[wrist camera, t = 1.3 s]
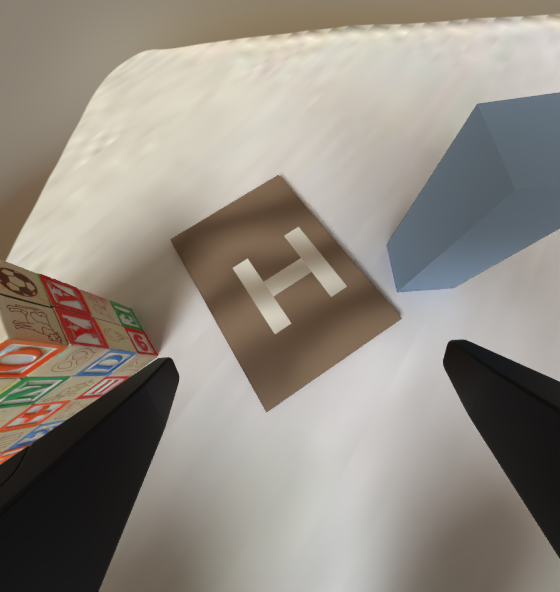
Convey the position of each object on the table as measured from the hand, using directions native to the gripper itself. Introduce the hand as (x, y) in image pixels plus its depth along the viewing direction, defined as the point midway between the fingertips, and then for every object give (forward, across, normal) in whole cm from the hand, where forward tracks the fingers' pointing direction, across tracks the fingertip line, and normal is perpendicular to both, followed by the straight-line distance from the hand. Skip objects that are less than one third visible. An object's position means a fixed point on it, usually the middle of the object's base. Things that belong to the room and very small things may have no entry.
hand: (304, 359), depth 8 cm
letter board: (+16, +2, +3) cm, 16 cm away
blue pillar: (+16, -12, +4) cm, 20 cm away
